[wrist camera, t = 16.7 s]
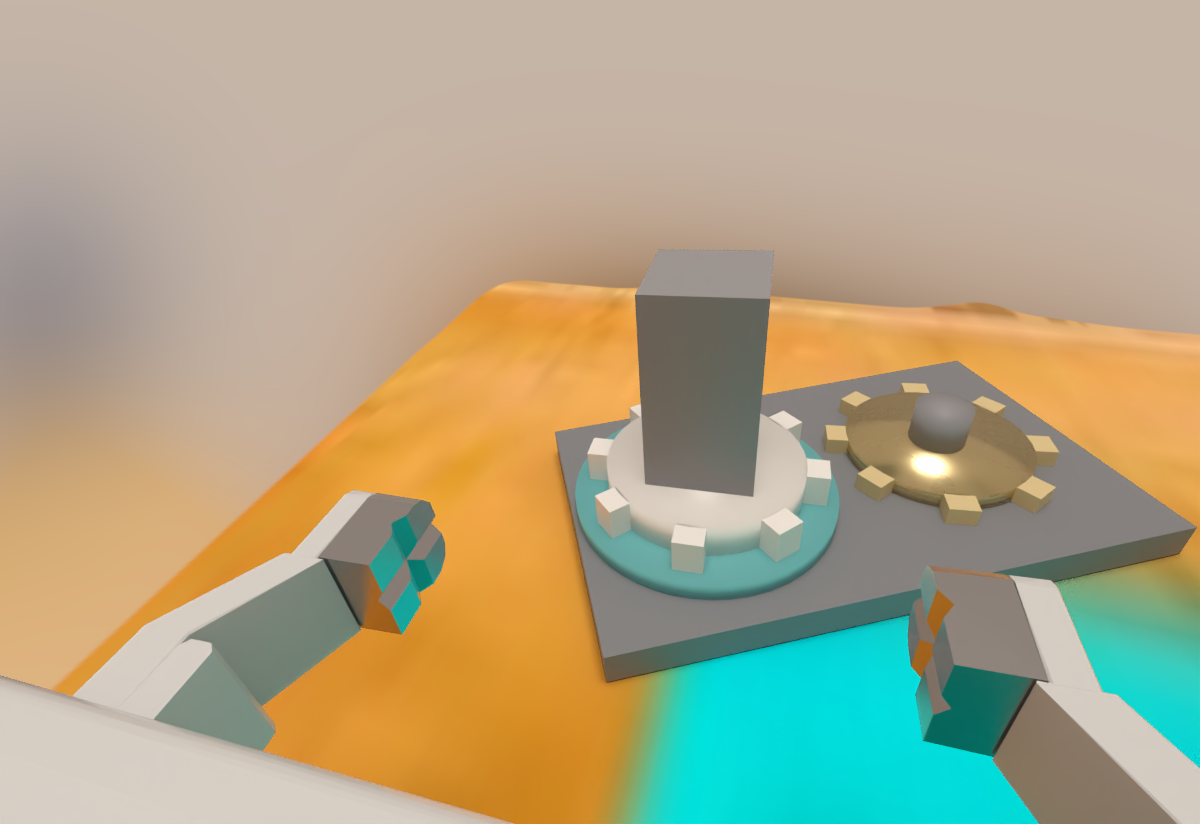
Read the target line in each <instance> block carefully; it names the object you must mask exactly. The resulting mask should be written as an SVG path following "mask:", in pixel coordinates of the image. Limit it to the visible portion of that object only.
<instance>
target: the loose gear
mask: <svg viewBox="0 0 1200 824" xmlns="http://www.w3.org/2000/svg"><path fill="white" fill-rule="evenodd" d="M773 259H774V251H756V250H755V251H754V250H753V251H752V250H662V249H661V250H660V249H659V250H658V252H657V254H656V256H655V258H654V260H653V262H652V264H651V265H650V267H649V269H648V271H647V273H646V275H645V277H644V279H643V281H642V283H641V285H640V286H639V288H638V290H637V292H636V294H635V302H636V321H637V340H638V360H639V379H640V398H641V404H639V405H636V406H634V407H631V408H630V421H631V423H629V424H628V425H627V426H626V427H624V428H623V429H622V430H621V431H620V432H619V433H618V435H617V436H616V437H615V439H614V440H613V439H602V438H594V439H593V442H592V444H591V446H590V448H589V451H588V453H587V456H588V465H589V473H590V479H597V480H606V481H608V483H609V490H607V491H604V492H602V493H600V494H598V495H596V496H595V502H596V511H597V519H598V523H599V524H600V525H601V526H602V528H603V529H604V530H605V531H606V532H607V534H608V535H609V536H610V537H611V538H612V539H614V538H616V537H618V536H620V535H622V534H624V533H626V532H628V531H630V530H633V531H634V532H635V533H637V534H638V535H639V536H641V537H643V538H644V539H646V540H648V541H650V542H652V543H654V544H656V545H659V546H661V547H663V548H667V549H670V550H671V562H672V570H678V571H685V572H691V573H698V574H703V571H704V565H705V558H706V556H720V555H729V554H736V553H741V552H746V551H749V550H752V549H755V548H758V547H759V548H760V549H762V550H763V551H764V552H765V553H766V554H767V555H768V556H769V557H770V558H772V559H773V560H774V561H775V562H778V561H780V560H782V559H783V558H785V557H787V556H788V555H790V554H792V553H794V552H795V551H797V550H799V548H800V541H801V535H802V528H803V521H802V520H801V519H799V518H798V515H799V513H800V511H801V508H802V505H803V503H804V504H812V505H821V506H827V500H828V495H829V489H830V484H831V467H830V461H828V460H818V459H808V458H806V455H805V452H804V450H803V448H802V447H801V445H800V436H801V428H802V422H801V421H799V420H798V419H796V418H795V417H793V416H791V415H790V414H788V413H787V412H785V411H781V412H779V413H777V414H775V415H773V416H770V417H767V416H765V415H762V414H760V412H761V400H762V388H763V377H764V365H765V353H766V341H767V330H768V318H769V306H770V293H771V283H772V271H773Z"/></svg>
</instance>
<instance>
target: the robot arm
mask: <svg viewBox="0 0 1200 824" xmlns="http://www.w3.org/2000/svg"><path fill="white" fill-rule="evenodd" d="M434 517H435V514H434V511H433V509H432V507H431V504H430V502H426V501H423V500H418V499H411V498H405V497H399V496H392V495H386V494H380V493H371V492H365V491H358V490H353V491H351V492H349V493H347V494H345V495H344V496H343V497H342V498H341V499H340V500H339V502H338V503H337V504H336V505H335V506H334V507H333V508H332V509H331V510H330V512H329V513H328V514H327V515H326V516H325V517H324V518H323V519H322V520H321V522H320V523H319V524H318V525H317V526H316V527H315V528H314V529H313V530H312V532H311V533H310V534H309V535H308V536H307V537H306V538H305V539H304V540H303V542H302V543H301V544H300V545H299V546H298V547H297V548H296V549H295V550H294V552H293V553H292V554H290V553H283V554H281V555H279V556H277V557H275V558H274V559H272V560H270V561H268V562H266V563H264V564H262V565H260V566H258V567H256V568H254V569H252V570H250V571H248V572H246V573H245V574H243V575H241V576H239V577H237V578H235V579H233V580H231V581H229V582H227V583H225V584H223V585H221V586H219V587H217V588H216V589H214V590H212V591H210V592H208V593H206V594H204V595H202V596H200V597H198V598H196V599H194V600H192V601H190V602H188V603H187V604H185V605H183V606H181V607H179V608H177V609H175V610H173V611H171V612H169V613H167V614H165V615H163V616H161V617H159V618H158V619H156V620H154V621H152V622H150V623H148V624H146V625H144V626H143V627H142V628H141V629H140V630H139V631H138V632H137V633H136V634H135V635H134V636H133V637H132V638H131V639H130V640H129V641H128V642H127V643H126V644H125V645H124V646H123V647H122V648H121V649H120V650H119V651H118V652H117V653H116V654H115V655H114V656H113V657H112V658H111V659H110V660H109V661H108V662H107V663H106V664H105V665H103V666H102V667H101V668H100V669H99V670H98V671H97V672H96V673H95V674H94V675H93V676H92V677H91V678H90V679H89V680H88V681H87V682H86V683H85V684H84V685H83V686H82V687H81V688H80V689H79V690H78V691H77V692H76V693H75V694H74V695H73V696H70V695H67V694H63V693H60V692H56V691H53V690H49V689H46V688H42V687H39V686H35V685H32V684H28V683H25V682H21V681H17V680H14V679H11V678H7V677H4V676H0V824H515V823H511V822H508V821H504V820H501V819H497V818H494V817H490V816H487V815H483V814H480V813H476V812H473V811H470V810H466V809H463V808H459V807H456V806H452V805H449V804H445V803H442V802H438V801H435V800H431V799H428V798H424V797H421V796H418V795H414V794H411V793H407V792H404V791H400V790H397V789H393V788H390V787H386V786H383V785H379V784H376V783H372V782H369V781H365V780H362V779H358V778H355V777H352V776H348V775H345V774H341V773H338V772H334V771H331V770H327V769H324V768H320V767H317V766H313V765H310V764H306V763H303V762H299V761H296V760H292V759H289V758H286V757H282V756H279V755H275V754H272V753H268V752H265V751H263V750H264V748H265V747H266V745H267V744H268V743H269V741H270V740H271V738H272V737H273V735H274V734H275V732H276V730H275V723H274V722H273V720H272V719H271V718H270V717H269V715H268V714H267V713H266V712H265V710H264V709H263V708H262V706H263V705H264V704H265V703H267V702H268V701H269V700H271V699H272V698H273V697H275V696H276V695H277V694H278V693H280V692H281V691H282V690H284V689H285V688H286V687H288V686H289V685H290V684H291V683H293V682H294V681H295V680H297V679H298V678H299V677H301V676H302V675H303V674H304V673H306V672H307V671H308V670H310V669H311V668H312V667H314V666H315V665H316V664H318V663H319V662H320V661H321V660H323V659H324V658H325V657H327V656H328V655H329V654H331V653H332V652H333V651H334V650H336V649H337V648H338V647H340V646H341V645H342V644H344V643H345V642H346V641H347V640H349V639H350V638H351V637H353V636H354V635H355V634H357V633H358V632H359V631H360V630H361V629H360V628H366V629H372V630H378V631H384V632H390V633H396V634H401V635H402V634H403V632H404V631H405V629H406V628H407V626H408V624H409V623H410V621H411V619H412V618H413V616H414V615H415V613H416V611H417V610H418V608H419V606H420V605H421V596H420V592H421V591H422V590H424V589H426V588H427V587H429V586H430V585H432V584H433V583H434V582H435V580H436V578H437V577H438V575H439V573H440V572H441V569H442V566H443V562H444V558H445V542H444V539H443V536H442V533H441V532H440V531H439V530H438V529H437V528H436V527H434V526H433V525H432V524H431V522H432V521H433V519H434ZM920 588H921V593H922V597H921V598H920V599H918V600H916V601H914V602H913V605H912V609H911V613H910V617H909V627H908V647H909V656H910V663H911V667H912V668H913V669H914V670H915V671H916V672H917V674H918V675H919V676H920V677H921V681H920V683H919V686H918V689H917V692H916V701H917V707H918V713H919V719H920V725H921V731H922V737H923V741H926V742H930V743H935V744H939V745H943V746H948V747H952V748H957V749H961V750H965V751H970V752H974V753H978V754H983V755H987V756H992V757H994V758H993V762H994V763H995V764H996V766H997V767H998V768H999V770H1000V771H1001V772H1002V774H1003V775H1004V777H1005V778H1006V779H1007V781H1008V782H1009V783H1010V785H1011V786H1012V787H1013V789H1014V790H1015V792H1016V793H1017V794H1018V796H1019V797H1020V798H1021V800H1022V801H1023V802H1024V804H1025V805H1026V807H1027V808H1028V809H1029V811H1030V812H1031V813H1032V815H1033V816H1034V817H1035V819H1036V820H1037V822H1038V823H1039V824H1200V768H1199V767H1198V766H1196V765H1195V764H1194V763H1193V762H1192V761H1191V760H1190V759H1189V758H1187V757H1186V756H1185V755H1184V754H1183V753H1182V752H1181V751H1180V750H1178V749H1177V748H1176V747H1175V746H1174V745H1173V744H1172V743H1171V742H1169V741H1168V740H1167V739H1166V738H1165V737H1164V736H1163V735H1162V734H1160V733H1159V732H1158V731H1157V730H1156V729H1155V728H1154V727H1153V726H1151V725H1150V724H1149V723H1148V722H1147V721H1146V720H1145V719H1144V718H1142V717H1141V716H1140V715H1139V714H1138V713H1137V712H1136V711H1135V710H1133V709H1132V708H1131V707H1130V706H1129V705H1128V704H1127V703H1126V702H1124V701H1123V700H1122V699H1121V698H1120V697H1119V696H1118V695H1115V694H1110V693H1105V692H1102V689H1101V687H1100V685H1099V682H1098V680H1097V678H1096V675H1095V673H1094V671H1093V668H1092V666H1091V664H1090V661H1089V659H1088V657H1087V654H1086V652H1085V650H1084V647H1083V645H1082V643H1081V640H1080V638H1079V636H1078V633H1077V631H1076V629H1075V626H1074V624H1073V622H1072V619H1071V617H1070V615H1069V612H1068V610H1067V608H1066V605H1065V603H1064V601H1063V598H1062V596H1061V594H1060V591H1059V589H1058V587H1057V586H1056V585H1055V584H1054V583H1053V582H1052V581H1051V580H1044V579H1036V578H1028V577H1020V576H1012V575H1007V576H1006V575H1004V574H998V573H989V572H981V571H973V570H964V569H956V568H948V567H939V566H931V565H927V567H926V568H925V569H924V570H923V573H922V576H921V579H920Z"/></svg>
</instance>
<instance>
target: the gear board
mask: <svg viewBox="0 0 1200 824" xmlns="http://www.w3.org/2000/svg"><path fill="white" fill-rule="evenodd" d="M781 411H785V412H787V413H788V414H790V415H791V416H793V417H795V418H796V419H798V420H799V421H801V422H802V428H801V436H800V445H801V447H802V448H803V450H804V452H805V455H806V458H808V459H818V460H828V461H830V467H831V484H830V489H829V495H828V500H827V506H821V505H812V504H804V503H803V505H802V508H801V511H800V513H799V515H798V518H799V519H801V520H802V521H803V528H802V535H801V541H800V548H799V550H797V551H795V552H794V553H792V554H790V555H788V556H787V557H785V558H783V559H782V560H780V561H778V562H775V561H774V560H773V559H772V558H770V557H769V556H768V555H767V554H766V553H765V552H764V551H763V550H762V549H760V548H759V547H758V548H755V549H752V550H749V551H746V552H741V553H736V554H729V555H720V556H706V558H705V565H704V571H703V574H698V573H691V572H685V571H678V570H672V562H671V550H670V549H667V548H663V547H661V546H659V545H656V544H654V543H652V542H650V541H648V540H646V539H644V538H643V537H641V536H639V535H638V534H637V533H635V532H634V531H633V530H630V531H628V532H626V533H624V534H622V535H620V536H618V537H616V538H614V539H612V538H611V537H610V536H609V535H608V534H607V532H606V531H605V530H604V529H603V528H602V526H601V525H600V524H599V523H598V519H597V511H596V502H595V496H596V495H598V494H600V493H602V492H604V491H607V490H609V483H608V481H606V480H597V479H590V473H589V465H588V456H587V453H588V451H589V448H590V446H591V444H592V442H593V439H594V438H602V439H613V440H614V439H615V437H616V436H617V435H618V433H619V432H620V431H621V430H622V429H623V428H624V427H626V426H627V425H628V424H629V423H631V421H630V419H625V420H620V421H614V422H608V423H603V424H597V425H591V426H586V427H580V428H574V429H569V430H563V431H557V432H555V435H556V441H557V447H558V454H559V458H560V463H561V468H562V473H563V477H564V482H565V487H566V492H567V496H568V501H569V506H570V511H571V515H572V520H573V525H574V529H575V534H576V539H577V544H578V548H579V553H580V558H581V563H582V567H583V572H584V577H585V582H586V586H587V591H588V596H589V600H590V605H591V610H592V615H593V619H594V624H595V629H596V634H597V638H598V643H599V648H600V653H601V657H602V662H603V667H604V671H605V676H606V681H607V682H610V681H615V680H619V679H624V678H628V677H632V676H637V675H641V674H646V673H650V672H655V671H659V670H664V669H668V668H673V667H677V666H681V665H686V664H690V663H695V662H699V661H704V660H708V659H713V658H717V657H721V656H726V655H730V654H735V653H739V652H744V651H748V650H753V649H757V648H761V647H766V646H770V645H775V644H779V643H784V642H788V641H793V640H797V639H801V638H806V637H810V636H815V635H819V634H824V633H828V632H833V631H837V630H842V629H846V628H850V627H855V626H859V625H864V624H868V623H873V622H877V621H882V620H886V619H890V618H895V617H899V616H904V615H908V614H910V613H911V609H912V605H913V602H914V601H916V600H918V599H920V598H921V597H922V593H921V588H920V579H921V576H922V573H923V570H924V569H925V568H926V567H927V565H931V566H939V567H948V568H956V569H964V570H973V571H981V572H989V573H998V574H1004V575H1006V576H1007V575H1012V576H1020V577H1028V578H1036V579H1044V580H1051V581H1052V582H1055V581H1059V580H1064V579H1068V578H1073V577H1077V576H1082V575H1086V574H1091V573H1095V572H1099V571H1104V570H1108V569H1113V568H1117V567H1122V566H1126V565H1131V564H1135V563H1139V562H1144V561H1148V560H1153V559H1157V558H1162V557H1166V556H1171V555H1175V554H1179V553H1180V552H1181V550H1182V549H1183V547H1184V546H1185V544H1186V543H1187V541H1188V540H1189V539H1190V537H1191V536H1192V534H1193V533H1194V531H1195V530H1196V528H1197V527H1196V526H1194V525H1193V524H1191V523H1190V522H1188V521H1187V520H1186V519H1184V518H1183V517H1181V516H1180V515H1178V514H1177V513H1175V512H1174V511H1173V510H1171V509H1170V508H1168V507H1167V506H1165V505H1164V504H1162V503H1161V502H1160V501H1158V500H1157V499H1155V498H1154V497H1152V496H1151V495H1150V494H1148V493H1147V492H1145V491H1144V490H1142V489H1141V488H1139V487H1138V486H1137V485H1135V484H1134V483H1132V482H1131V481H1129V480H1128V479H1127V478H1125V477H1124V476H1122V475H1121V474H1119V473H1118V472H1116V471H1115V470H1114V469H1112V468H1111V467H1109V466H1108V465H1106V464H1105V463H1103V462H1102V461H1101V460H1099V459H1098V458H1096V457H1095V456H1093V455H1092V454H1091V453H1089V452H1088V451H1086V450H1085V449H1083V448H1082V447H1080V446H1079V445H1078V444H1076V443H1075V442H1073V441H1072V440H1070V439H1069V438H1067V437H1066V436H1065V435H1063V434H1062V433H1060V432H1059V431H1057V430H1056V429H1055V428H1053V427H1052V426H1050V425H1049V424H1047V423H1046V422H1044V421H1043V420H1042V419H1040V418H1039V417H1037V416H1036V415H1034V414H1033V413H1032V412H1030V411H1029V410H1027V409H1026V408H1024V407H1023V406H1021V405H1020V404H1019V403H1017V402H1016V401H1014V400H1013V399H1011V398H1010V397H1008V396H1007V395H1006V394H1004V393H1003V392H1001V391H1000V390H998V389H997V388H996V387H994V386H993V385H991V384H990V383H988V382H987V381H985V380H984V379H983V378H981V377H980V376H978V375H977V374H975V373H974V372H972V371H971V370H970V369H968V368H967V367H965V366H964V365H962V364H961V363H960V362H958V361H953V362H947V363H942V364H936V365H930V366H925V367H919V368H913V369H908V370H902V371H896V372H891V373H885V374H879V375H874V376H868V377H863V378H857V379H851V380H846V381H840V382H834V383H829V384H823V385H817V386H812V387H806V388H800V389H795V390H789V391H783V392H778V393H772V394H766V395H762V400H761V412H760V414H762V415H765V416H767V417H770V416H773V415H775V414H777V413H779V412H781Z"/></svg>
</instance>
